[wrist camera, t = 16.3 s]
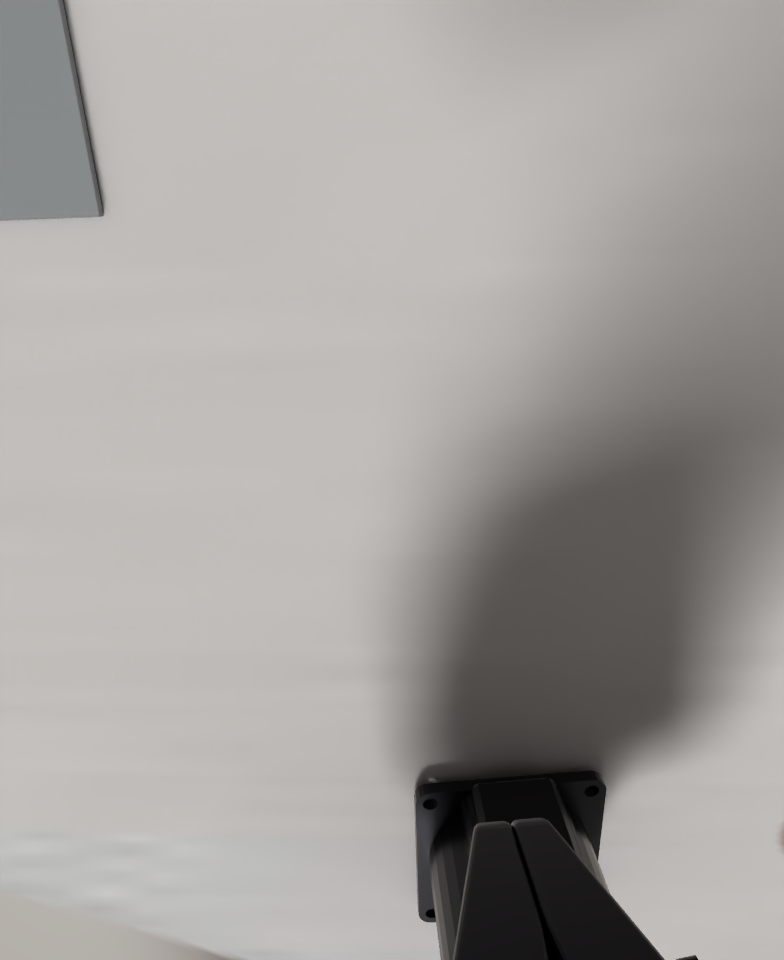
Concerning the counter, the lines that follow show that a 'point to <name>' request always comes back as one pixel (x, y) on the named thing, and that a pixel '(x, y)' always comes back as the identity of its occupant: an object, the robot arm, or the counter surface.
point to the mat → (42, 118)
